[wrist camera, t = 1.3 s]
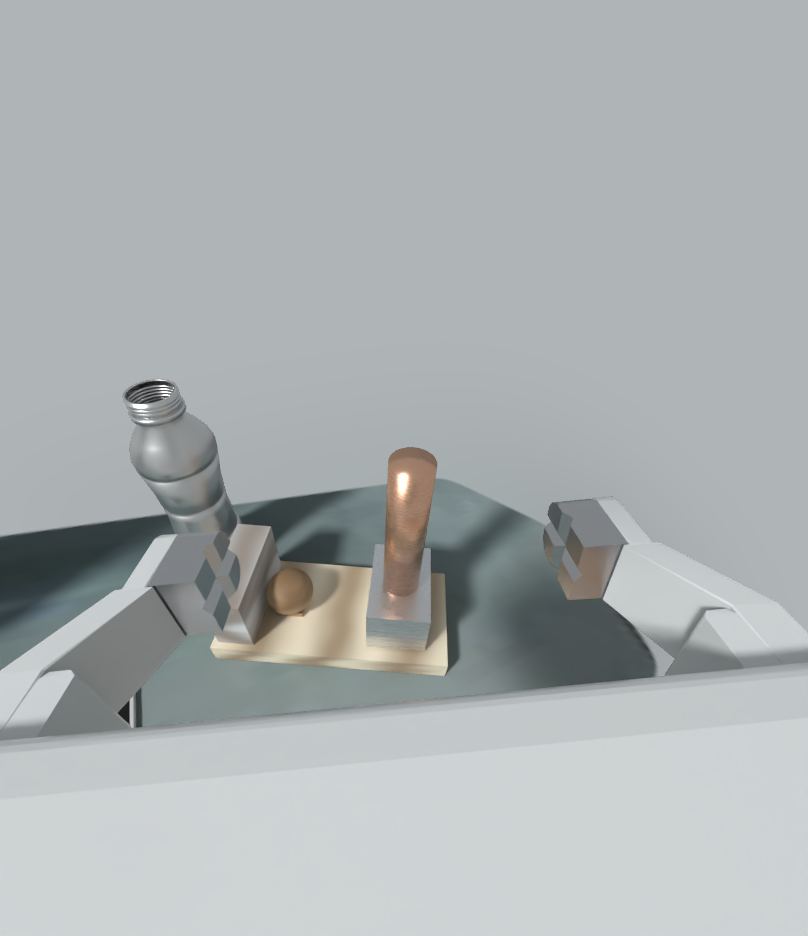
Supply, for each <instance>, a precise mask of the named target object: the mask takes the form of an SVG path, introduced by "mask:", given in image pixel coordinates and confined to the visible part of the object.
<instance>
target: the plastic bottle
mask: <svg viewBox="0 0 808 936" xmlns="http://www.w3.org/2000/svg"><path fill="white" fill-rule="evenodd" d="M123 400H124V403H125V405H126V407H127V409H128V413H129V416H130V418H131V420H132V421H133V422H134V423H135V424H137V425H136V427H135V430H134V432H133V434H132V437H131V441H130V446H129V452H130V459H131V463H132V464H133V466H134V467H135V469H136V471H137V472H138V473H139V474H140V476H141V477H142V478H143V479H144V481H145V482H146V483H147V485H148V486H149V487H150V488H151V490H152V491H153V492H154V493H155V495H156V496H157V498H158V500H159V501H160V503H161V505H162V506H163V507H164V510H165V511H166V513H167V515H168V517H169V519H170V522H171V525H172V528H173V530H174V533H175V534H182V533H198V532H214V531H223V532H226V534H227V536H228V538H229V540H230V539H231V537H232V535H233V533H234V531H235V529H236V526H237V524H243V523H242V521H241V519H240V517H239V516H238V514H237V513H236V512H235V511H234V509H233V506H232V504H231V502H230V500H229V498H228V496H227V494H226V490H225V486H224V483H223V479H222V475H221V471H220V464H219V457H218V450H217V444H216V440H215V436H214V434H213V433H212V431H211V430H210V429H209V427H208V426H207V425H206V424H205V423H204V422H202V421H201V420H199V419H198V418H196V417H195V416H193V415H191V414H189V413H187V412H186V411H185V410H186V405H185V402H184V400H183V398H181V395H180V392H179V390H178V388H177V386H176V384H175V383H174V382H172V381H169V380H164V379H152V380H146V381H142V382H139V383H137V384H134V385H132V386H131V387H129V388H128V389H126V390H125V392H124V393H123Z"/></svg>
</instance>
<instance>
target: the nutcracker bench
mask: <svg viewBox="0 0 808 936" xmlns="http://www.w3.org/2000/svg"><path fill="white" fill-rule="evenodd" d="M228 550H230V551H231V552H233V553H235V554H236V555H237V558H238V560H239V564H240V570H241V571H240V582H239V586H238V589H237V592H236V593H235V594H233V595H232V596H231V597H230V598H229V599H228V602H229V604H230V606H231V609H230V612H229V615H228V618H227V620H226V623H225V626H224V629H223V632H217V633H213V634H214V635H215V637H214V640H213V642H212V644H211V647H210V649H211V650H212V652H213V653H214V655H215V657H216V658H224V659H237V660H249V661H262V662H275V663H288V664H301V665H313V666H326V667H339V668H352V669H364V670H377V671H390V672H403V673H416V674H428V675H441V676H445V673H446V670H447V667H448V658H447V627H446V597H445V574H442V573H431V624H430V629H429V633H428V638H427V642H426V647H425V651H418V650H406V649H393V648H380V647H367V646H366V613H367V606H368V598H369V590H370V583H371V575H372V568H366V567H353V566H340V565H328V564H315V563H303V562H290V561H280V559H279V555H278V552H277V548H276V544H275V540H274V536H273V532H272V528H271V526H259V525H247V524H237V526H236V529H235V531H234V533H233V535H232V537H231V539H230V545H229V547H228ZM286 568H298V569H300V570H302V571H304V572H305V573H307V574H308V576H309V577H310V579H311V581H312V584H313V595H312V598H311V601H310V602H309V604H308V605H307V606H306V608H305V611H304V615H303V617H296V616H284V615H276V612H275V611H274V610H273V609H272V608H271V607H270V605H269V603H268V601H267V597H266V590H267V586H268V583H269V581H270V580H271V578H272V577H273V576H274V575H275V574H276V573H277V572H279V571H281V570H283V569H286Z"/></svg>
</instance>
